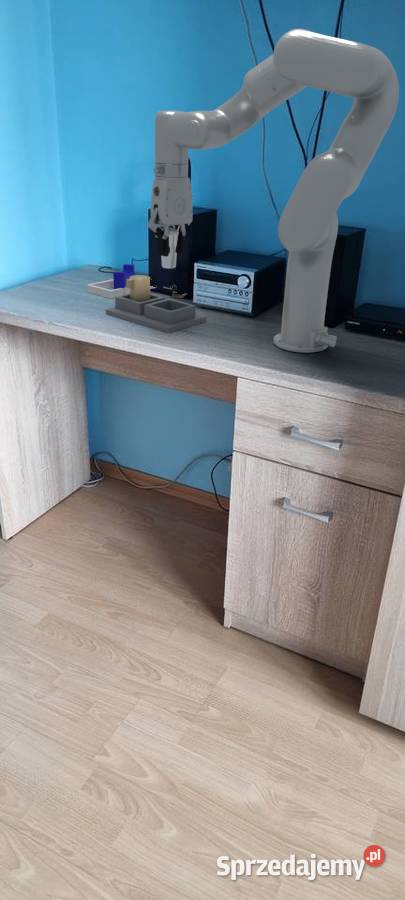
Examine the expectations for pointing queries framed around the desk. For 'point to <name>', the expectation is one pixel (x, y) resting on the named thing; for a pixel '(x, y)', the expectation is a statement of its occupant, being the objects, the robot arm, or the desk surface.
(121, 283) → the blue stepped block
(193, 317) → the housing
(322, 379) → the desk surface
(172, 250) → the milkshake
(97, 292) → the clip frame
